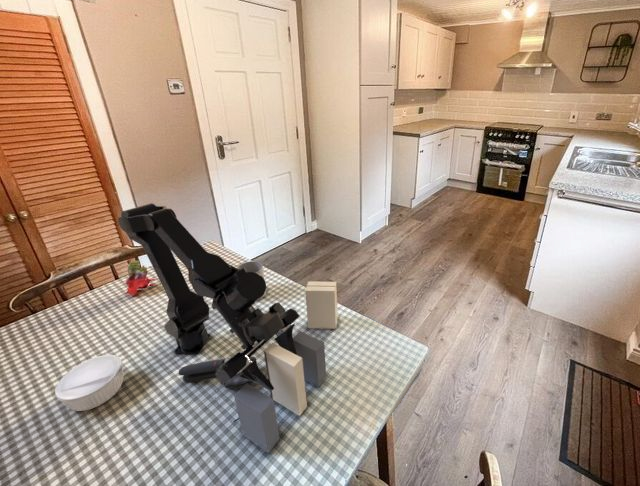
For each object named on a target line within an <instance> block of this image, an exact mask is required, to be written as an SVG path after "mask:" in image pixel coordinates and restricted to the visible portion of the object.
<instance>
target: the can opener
mask: <svg viewBox="0 0 640 486" xmlns="http://www.w3.org/2000/svg"><path fill="white" fill-rule="evenodd" d="M242 352H243V351H242ZM242 352H240V353H242ZM230 358H231V357H229V358H219V359H218V358H217V359H213V360H212V359H211V360H207V361H201V362H196V363H191V364H187V365H184V366H182V367H181V368H180V369H179V370H178V375H179V376H182V381H183V382H184V383H185V382H186V383H187V382H188V383H189V382H199V381H200V382H201V381H206V380H211V379H215V378H216V370H217V369H218V368H219V367H220V366H222V365H223V364H224V363H225V362H226V361H227V360H229V359H230ZM249 359H250V360H251V362H252V361H254V360H256V362H257V363H258V361H257V358H256V357H255V356H253V355H252V356H251V357H250V358H249ZM216 379H217V378H216ZM246 383H248V384H249V385H251V386H252V385H253V384H254V382H252V381H250V380H247V379H245V378H242V377H237V378H235V379H233V378H231V379H230V380H228V381H226V382H225V383H224V387H225V388H226V389H231V390H237V389H241V388H242V387H243V386H244V385H245V384H246Z"/></svg>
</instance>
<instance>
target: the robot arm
mask: <svg viewBox="0 0 640 486" xmlns="http://www.w3.org/2000/svg"><path fill="white" fill-rule="evenodd" d="M120 213H121V214H120V216H118V217H117V222H118V225H119V227H120V229H121V230H122V231H123V232H125V233H126V236H127V237H128V238H129V240H132V241H134V242H135V243H137V244H139V245H140V246H142V248H143V250H144V252H145V254H146V256H147V258H148V260H149V262H150V264H151V266H152V269H153V271H154V272H155V274H156V276H157V278H158V280H159V282H160V284H161V286H162V288H163V290H164V292H165V294H166V296H167V298H168V301H167V306H166V315H167V317H168V321H167V322H166V323H165V324H164V326H163V327H164V329H165V332H166V334H167V335H169V336H170V337H172V338H174V339H175V342H176V345H177V347H176V349H175V350H174V351H173V352H174V354H176V355H179V354H180V355H199V354H200V353H201V352H202V350H203V349H204V347H205V346H206V345H207V343H208V341H209V340H210V338H211V336H212V335H211V334H210V333H208V329H207V327H206V326H205V322H206V321H208V320H210V307H209V304H208V303H207V302H206V301H205V298H207V299H212V303H211V308H212V310H216V311H218V313H219V315H220V316H221V317H222V318H223V320H224V321H225V322H226V324H227V325H228V326H229V328H230V329H229V333H230V334H231V335H233V334H235V336H236V337H237V339H238V340H239V341H240V342H241V346H240V347H241V348H242V353H241V352H240V351H238V352H236V353H235V354H234V355H232V356H230V357H229V358H230V359H229V360H227V361H226V362H225V363H224V364H223V365H222V366H220V367H219V368H218V369H217V370H216V379H217V380H218V382H219V384H220V385H224V384H225V382H226V381H228V380H230V379H231V378H233V379H235V378H237V377H242V378H245V379H247V380H250V381H252V382H254V383H255V384H257V385H258V386H260V387H262V388H264V389H266V390H268V391H269V392H270V391H272V390H273V389H274V387H273V386H272V384H271V382H270V381H269V380H268V376H266V375H265V374H264V373H263V371H262V370H261V369H260V367H259V366H258V361H257V359H256V360H254V361H252V362H251V360H250V359H249V358H250V357H251V356H253V355H254V354H255V353H256V352H258V351H259V350H260V349H261V348H262V347H263V346H265V344H266V343H267V342H269V341H270V340H271V339H272V338H273V337H274V336H275V338H273V340H274V341H275V342H276V344H277V345H278V346H280V347H282V348H284V349H286V350H288V351H290V352H292V353H294V354H296V355H297V352H296V349H295V346H294V342H293V337H294V336H293V331H294V328H295V327H296V324H295V323H294V322H295V321H296V320H297V319H299V318H300V316H301V315H300V314H299V312H298V311H297V310H296V309H294V308H291V307H290V308H289V309H287V310H286V309H285V308H284V306H283V305H282V304H281V302H274V304H272V305H271V306H269V307H268V311H266V312H263V311H262V310H261V308H259V307H257V308H255V307H254V306H253V305H254V304H255V303H256V302H257V301H259V300H260V299H262V298H263V297H264V296H265V295H264V293H265V291H266V292H267V283H266V282H267V281H266V279H265V277H264V278H263V277H262V276H260V275H259V274H257V273H254V272H246V270H245V269H244V268H242V269H237V267H235V266H234V265H232V264H230V263H228V262H227V261H225V259H223V258H222V257H221V256H220V255H218V254H216V253H215V254H214V253H211V252H208V251H207V250H206V249H205V248H204V247H203V246H202V245H201V244H200V242H198V240H197V239H196V238H195V237H194V235H192V234H191V233H190V231H189V230H188V229H187V227H185V225H184V224H182V223H181V221H180V220H179V219H178V218H177V215H176V213H175V211H174V210H173V209H172V208H168V207H167V205H156V204H155V203H152V202H151V203H146V204H143V205H140V206H135V207H133V208H129V209H125V210H122V211H121V212H120ZM176 257H177V259H179V260H180V262H181V263H182V264H183V265H184V267H185V268H186V269H187V275H188V277H187V278H188V281H189V283H190V284H191V288H192V289H193V290H191V289H190V287H189V284H188V283H187V281H186V278H185V276H184V275H183V272H182V270H181V268H180V266H179V263H178V262H177V260H176ZM264 279H265V280H264ZM263 295H264V296H263ZM262 296H263V297H262ZM261 297H262V298H261ZM259 298H260V299H259ZM258 299H259V300H258ZM256 361H257V362H256ZM254 383H253V384H254Z"/></svg>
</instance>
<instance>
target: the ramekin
mask: <svg viewBox="0 0 640 486" xmlns="http://www.w3.org/2000/svg"><path fill="white" fill-rule="evenodd" d="M123 363H124V362H123V360H122V358H121V357H120V356H118V355H116V354H103V355H98V356H95V357H92V358H90V359H87V360H84V361H82V362H80V363H79V364H77V365H76V366H74V367H73V368H71V369H70V370H69V371H68V372H67V373H65V375H64V376H62V378H61V379H60V380H59V382H58V383H57V385H56V387H55V389H54V396H55V397H56V399H57V400H58V401H59V402H61V403H63V404H64V405H65V406H66V407H67V408H69V409H70V410H72V411H74V412H83V411H89V410H92V409H95V408H97V407H99V406H101V405H103V404H104V403H106V402H107V401H109V400H110V399H112V398H113V397H114V396H115V395H116V394H117V393H118V391H119V390H120V389H121V388H122V385H123V382H124V379H125V375H124V369H123V368H124V364H123Z"/></svg>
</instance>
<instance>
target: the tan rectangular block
mask: <svg viewBox="0 0 640 486" xmlns="http://www.w3.org/2000/svg"><path fill="white" fill-rule="evenodd" d="M263 356H264V361H265V369H266V375H267V376H266V377H267V379H268V380H269V381H270V382H271V384H272V386H273V387H274V389H273V390H272V391H270V390H269V394H270V398H272V399H274V402H276V403H277V404H280V405H281V406H283V407H284V408H285V409H287V410H289V411H291V412H292V413H294V414H295V415H297V416H299V417H300V416H301V415H302V414H303V413H304V412H305V410H306V408H307V407H308V403H307V393H306V383H305V382H306V381H305V380H304V371H303V361H302V358H301V357H299V356H298V355H296V354H294V353H292V352H290V351H288V350H286V349H284V348H282V347H280V346H279V344H277V343H274V342H271V343H270V344H269V346H267V347H266V348H265V349H264V350H263Z"/></svg>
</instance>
